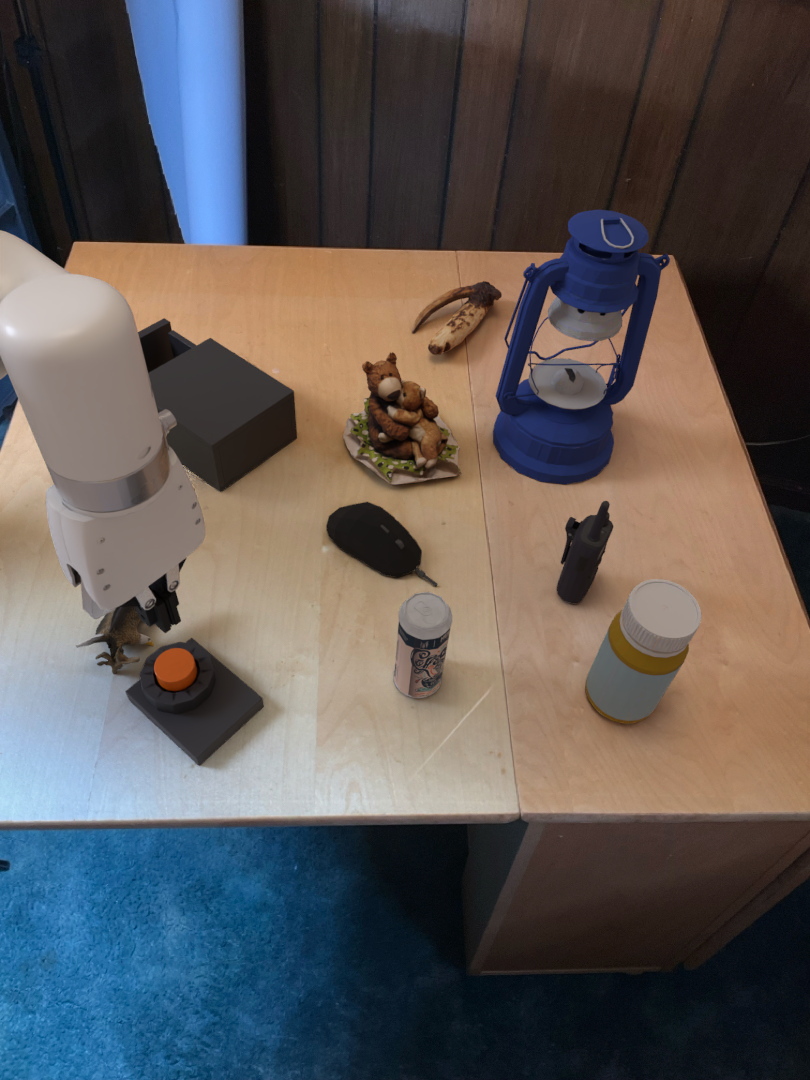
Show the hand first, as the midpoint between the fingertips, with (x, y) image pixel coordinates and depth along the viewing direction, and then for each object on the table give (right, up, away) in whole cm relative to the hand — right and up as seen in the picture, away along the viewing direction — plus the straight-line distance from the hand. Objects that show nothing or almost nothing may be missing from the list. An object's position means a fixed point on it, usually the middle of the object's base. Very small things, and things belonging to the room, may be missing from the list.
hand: (161, 617), depth 67 cm
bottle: (+42, -9, +12) cm, 44 cm away
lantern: (+39, +19, +35) cm, 56 cm away
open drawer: (-12, +26, +36) cm, 46 cm away
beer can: (+22, -7, +12) cm, 26 cm away
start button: (-1, -6, +7) cm, 9 cm away
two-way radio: (+38, +1, +21) cm, 43 cm away
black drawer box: (-3, +19, +32) cm, 38 cm away
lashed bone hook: (+27, +37, +49) cm, 67 cm away
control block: (+1, -9, +9) cm, 13 cm away
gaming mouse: (+18, +5, +22) cm, 29 cm away
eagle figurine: (-7, -4, +13) cm, 15 cm away
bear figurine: (+20, +18, +33) cm, 42 cm away
